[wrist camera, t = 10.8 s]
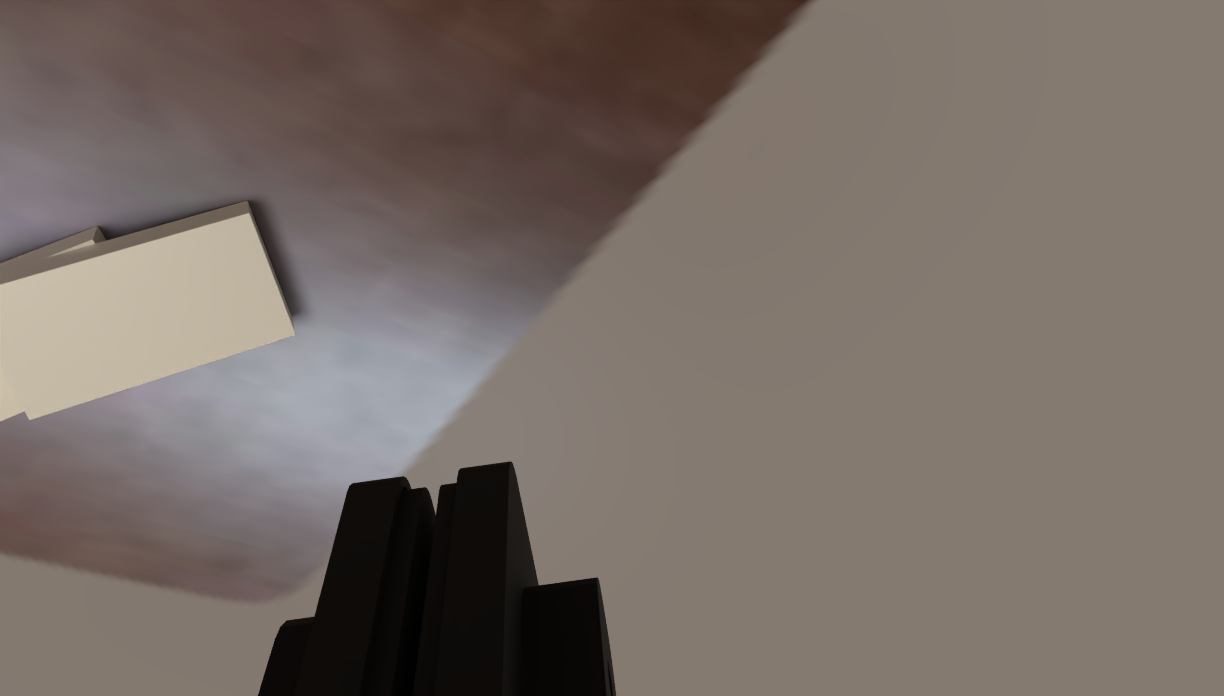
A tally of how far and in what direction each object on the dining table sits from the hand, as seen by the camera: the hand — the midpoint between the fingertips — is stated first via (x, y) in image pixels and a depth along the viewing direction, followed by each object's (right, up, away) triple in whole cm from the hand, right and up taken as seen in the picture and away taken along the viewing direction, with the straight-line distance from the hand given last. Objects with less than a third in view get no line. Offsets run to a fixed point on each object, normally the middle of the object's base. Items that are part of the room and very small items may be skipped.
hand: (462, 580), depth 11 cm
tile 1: (-12, +6, +28) cm, 31 cm away
